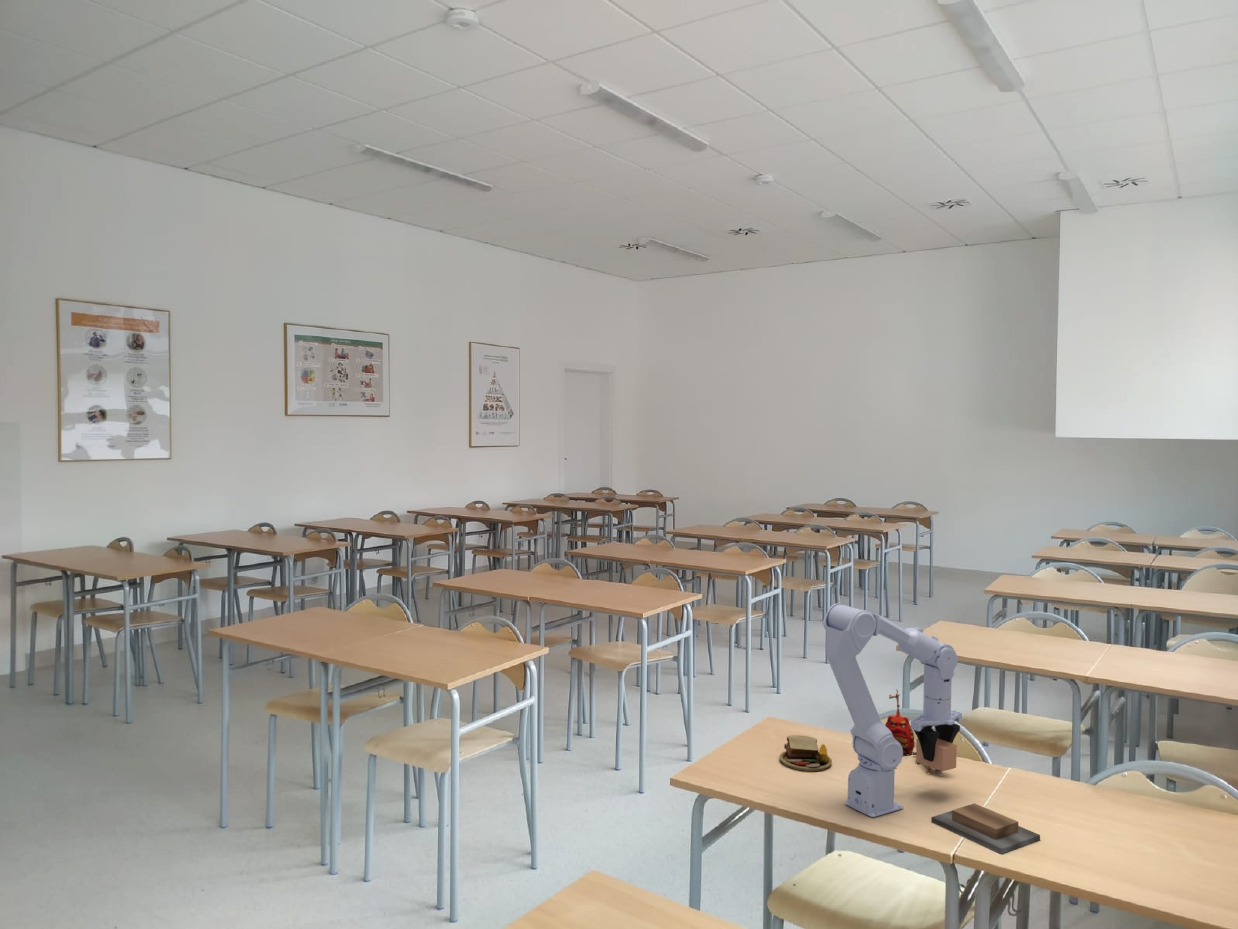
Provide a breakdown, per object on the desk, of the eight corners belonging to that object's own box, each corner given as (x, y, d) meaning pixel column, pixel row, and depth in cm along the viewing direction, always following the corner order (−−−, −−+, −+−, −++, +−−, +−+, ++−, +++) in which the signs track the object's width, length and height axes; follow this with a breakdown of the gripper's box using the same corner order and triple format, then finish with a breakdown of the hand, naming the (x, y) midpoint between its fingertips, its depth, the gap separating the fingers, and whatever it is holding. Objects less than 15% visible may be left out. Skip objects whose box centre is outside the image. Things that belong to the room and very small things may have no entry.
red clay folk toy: (883, 754, 212) (884, 695, 212) (881, 745, 219) (882, 687, 219) (915, 757, 211) (916, 697, 210) (912, 748, 218) (913, 689, 217)
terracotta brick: (942, 771, 183) (943, 748, 183) (916, 761, 189) (916, 738, 189) (956, 767, 185) (956, 745, 185) (929, 757, 191) (930, 735, 191)
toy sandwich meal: (778, 770, 201) (778, 750, 201) (780, 751, 215) (780, 732, 215) (832, 775, 199) (832, 755, 199) (831, 755, 212) (831, 737, 212)
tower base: (1001, 854, 160) (1001, 838, 160) (931, 822, 174) (931, 807, 174) (1040, 840, 166) (1040, 825, 166) (969, 810, 180) (969, 795, 180)
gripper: (930, 706, 179) (929, 769, 180) (974, 696, 187) (972, 758, 187) (903, 697, 186) (902, 759, 186) (947, 688, 193) (945, 748, 193)
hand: (936, 758), depth 187 cm, fingers closed on terracotta brick, 4 cm apart
